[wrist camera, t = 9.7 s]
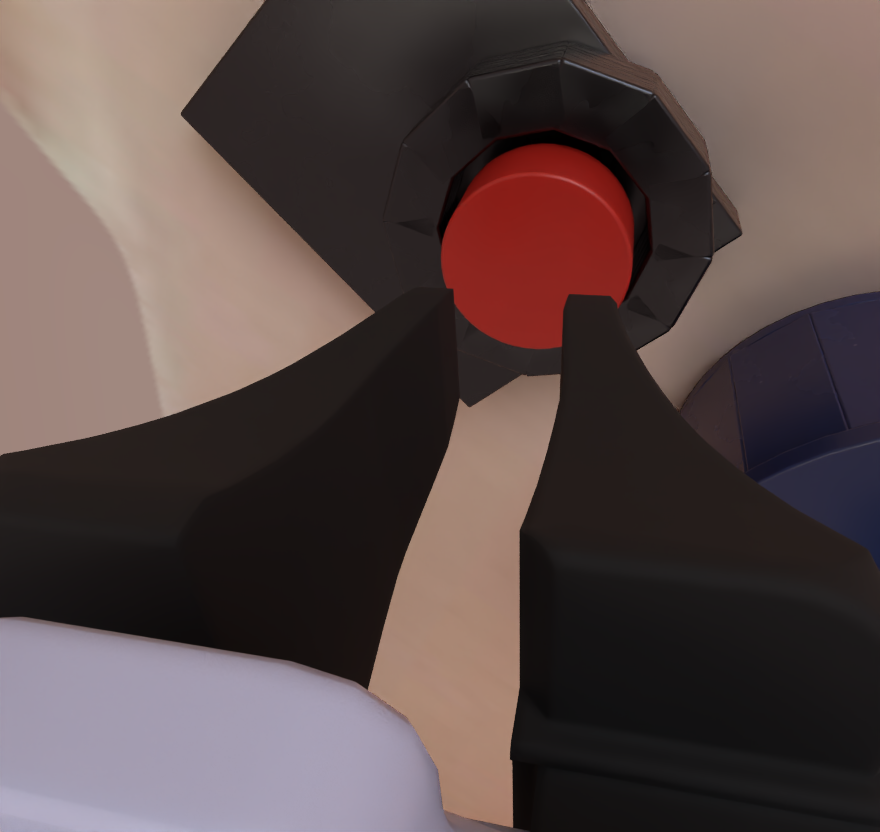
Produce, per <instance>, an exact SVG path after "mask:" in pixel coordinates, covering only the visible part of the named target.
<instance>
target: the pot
mask: <svg viewBox="0 0 880 832" xmlns="http://www.w3.org/2000/svg"><path fill="white" fill-rule="evenodd" d="M679 413H680V414H681V416H682V417H683V418H684V419H685V420H686V421H687V422H688V423H689V424H690V426H691V427H692V428H693V429H694V430H695V431H696V432H697V433H698V434H699V435H700V436H701V437H702V438H703V439H704V440H705V441H706V442H707V443H708V444H709V445H711V446H712V447H713V448H714V449H715V450H717V451H718V452H719V453H720V454H721V455H722V456H724V457H725V458H726V459H727V460H728V461H729V462H731V463H732V464H733V465H734V466H735V467H737V468H738V469H739V470H741V471H742V472H743V473H745V472H747V471H748V470H750V469H752V468H754V467H756V466H758V465H760V464H762V463H764V462H766V461H768V460H770V459H772V458H774V457H775V456H777V455H779V454H781V453H783V452H786V451H788V450H791V449H793V448H796V447H799V446H801V445H804V444H806V443H809V442H811V441H814V440H817V439H819V438H822V437H824V436H828V435H832V434H835V433H839V432H842V431H846V430H849V429H853V428H856V427H860V426H863V425H867V424H871V423H877V422H880V291H878V292H871V293H864V294H858V295H852V296H848V297H844V298H841V299H837V300H833V301H829V302H825V303H821V304H819V305H816V306H813V307H810V308H808V309H805V310H802V311H799V312H797V313H794V314H792V315H790V316H787V317H785V318H783V319H781V320H779V321H777V322H775V323H773V324H771V325H769V326H767V327H765V328H763V329H762V330H760V331H759V332H757V333H755V334H754V335H752V336H751V337H749V338H747V339H746V340H744V341H742V342H741V343H740V344H739V345H737V346H736V347H735V348H733V349H732V350H731V351H730V352H728V353H727V354H726V355H725V356H723V357H722V358H721V359H720V360H719V361H718V362H717V363H716V364H715V365H714V366H713V367H712V368H711V369H710V370H709V371H708V372H707V373H706V374H705V375H704V376H703V377H702V379H701V380H700V381H699V383H698V384H697V385H696V387H695V388H694V389H693V391H692V392H691V393H690V395H689V396H688V398H687V400H686V402H685V403H684V405H683V407H682V409H681V411H680V412H679Z"/></svg>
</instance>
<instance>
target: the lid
mask: <svg viewBox="0 0 880 832" xmlns="http://www.w3.org/2000/svg"><path fill="white" fill-rule="evenodd" d="M745 474H746V475H747V476H749V477H750V478H751V479H753V480H754V481H755V482H757V483H758V484H759V485H761V486H762V487H764V488H765V489H767V490H768V491H770V492H771V493H773V494H774V495H776V496H777V497H779V498H780V499H782V500H783V501H785V502H786V503H788V504H789V505H791V506H792V507H794V508H795V509H797V510H799V511H800V512H802V513H804V514H806V515H807V516H809V517H811V518H813V519H815V520H816V521H818V522H820V523H822V524H824V525H825V526H827V527H829V528H831V529H833V530H834V531H836V532H838V533H840V534H842V535H843V536H845V537H847V538H849V539H851V540H852V541H854V542H856V543H858V544H860V545H862V546H863V547H865V548H867V549H868V550H869V552H870V553H871V555H872V557H873V559H874V561H875V563H876V565H877V567H878V569H879V571H880V422H877V423H871V424H867V425H863V426H860V427H856V428H853V429H849V430H846V431H842V432H839V433H835V434H832V435H828V436H824V437H822V438H819V439H817V440H814V441H811V442H809V443H806V444H804V445H801V446H799V447H796V448H793V449H791V450H788V451H786V452H783V453H781V454H779V455H777V456H775V457H774V458H772V459H770V460H768V461H766V462H764V463H762V464H760V465H758V466H756V467H754V468H752V469H750V470H748V471H747V472H745Z"/></svg>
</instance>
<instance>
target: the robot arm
mask: <svg viewBox="0 0 880 832" xmlns="http://www.w3.org/2000/svg"><path fill="white" fill-rule="evenodd" d="M459 398H460V390H459V374H458V357H457V340H456V323H455V306H454V289H450V288H428V287H415V288H413V289H411V290H409V291H407V292H406V293H404V294H402V295H401V296H399V297H398V298H396V299H395V300H393V301H392V302H390V303H389V304H387V305H386V306H384V307H383V308H381V309H380V310H378V311H377V312H375V313H374V314H373V315H371V316H369V317H368V318H366V319H365V320H363V321H362V322H360V323H359V324H357V325H356V326H354V327H353V328H351V329H350V330H348V331H347V332H345V333H344V334H342V335H341V336H339V337H338V338H336V339H334V340H332V341H331V342H329V343H327V344H326V345H324V346H322V347H321V348H319V349H317V350H316V351H314V352H312V353H311V354H309V355H307V356H306V357H304V358H302V359H300V360H299V361H297V362H295V363H293V364H292V365H290V366H288V367H286V368H284V369H282V370H280V371H278V372H276V373H274V374H272V375H270V376H268V377H266V378H264V379H262V380H260V381H257V382H255V383H253V384H251V385H249V386H246V387H244V388H242V389H240V390H237V391H235V392H233V393H230V394H228V395H225V396H222V397H220V398H217V399H214V400H211V401H209V402H206V403H203V404H201V405H198V406H195V407H193V408H190V409H187V410H184V411H182V412H179V413H176V414H173V415H170V416H167V417H164V418H160V419H157V420H154V421H150V422H147V423H144V424H140V425H137V426H133V427H129V428H125V429H122V430H118V431H114V432H110V433H106V434H102V435H98V436H94V437H90V438H85V439H81V440H75V441H70V442H65V443H60V444H55V445H50V446H45V447H40V448H35V449H30V450H24V451H19V452H13V453H7V454H3V455H1V456H0V832H880V571H879V569H878V567H877V565H876V563H875V561H874V559H873V557H872V555H871V553H870V552H869V550H868V549H867V548H865V547H863V546H862V545H860V544H858V543H856V542H854V541H852V540H851V539H849V538H847V537H845V536H843V535H842V534H840V533H838V532H836V531H834V530H833V529H831V528H829V527H827V526H825V525H824V524H822V523H820V522H818V521H816V520H815V519H813V518H811V517H809V516H807V515H806V514H804V513H802V512H800V511H799V510H797V509H795V508H794V507H792V506H791V505H789V504H788V503H786V502H785V501H783V500H782V499H780V498H779V497H777V496H776V495H774V494H773V493H771V492H770V491H768V490H767V489H765V488H764V487H762V486H761V485H759V484H758V483H757V482H755V481H754V480H753V479H751V478H750V477H749V476H747V475H746V474H745V473H743V472H742V471H741V470H739V469H738V468H737V467H735V466H734V465H733V464H732V463H731V462H729V461H728V460H727V459H726V458H725V457H724V456H722V455H721V454H720V453H719V452H718V451H717V450H715V449H714V448H713V447H712V446H711V445H709V444H708V443H707V442H706V441H705V440H704V439H703V438H702V437H701V436H700V435H699V434H698V433H697V432H696V431H695V430H694V429H693V428H692V427H691V426H690V424H689V423H688V422H687V421H686V420H685V419H684V418H683V417H682V416H681V414H680V413H679V412H678V411H677V410H676V408H675V407H674V406H673V405H672V403H671V402H670V401H669V400H668V398H667V397H666V396H665V394H664V393H663V392H662V390H661V389H660V387H659V386H658V385H657V383H656V382H655V380H654V379H653V377H652V376H651V374H650V373H649V371H648V370H647V368H646V367H645V365H644V363H643V361H642V360H641V358H640V356H639V354H638V353H637V351H636V349H635V348H634V346H633V344H632V342H631V340H630V338H629V336H628V334H627V332H626V329H625V327H624V325H623V322H622V320H621V317H620V314H619V311H618V307H617V303H616V302H615V300H614V299H613V298H612V297H611V296H603V295H581V294H569V295H568V297H567V300H566V303H565V306H564V309H563V327H562V353H561V379H560V401H559V405H558V410H557V414H556V418H555V423H554V427H553V430H552V434H551V438H550V442H549V446H548V450H547V454H546V457H545V460H544V464H543V467H542V470H541V474H540V477H539V480H538V484H537V487H536V489H535V492H534V495H533V498H532V500H531V503H530V506H529V509H528V511H527V514H526V517H525V519H524V522H523V524H522V526H521V529H520V689H519V696H518V702H517V708H516V714H515V721H514V727H513V733H512V740H511V748H510V760H512V765H513V828H512V827H507V826H502V825H497V824H492V823H487V822H482V821H478V820H473V819H468V818H464V817H461V816H458V815H456V814H453V813H450V812H447V811H445V810H443V806H442V798H441V790H440V783H439V775H438V769H437V768H436V766H435V764H434V762H433V761H432V759H431V757H430V755H429V754H428V752H427V750H426V748H425V747H424V745H423V743H422V741H421V740H420V738H419V736H418V734H417V733H416V731H415V729H414V728H413V726H412V725H411V723H410V722H409V720H408V719H407V717H405V716H404V715H403V714H401V713H400V712H398V711H397V710H395V709H394V708H392V707H391V706H390V705H388V704H387V703H385V702H384V701H382V700H381V699H380V698H378V697H377V696H375V695H374V694H372V693H371V692H369V691H368V686H369V683H370V679H371V675H372V671H373V667H374V663H375V659H376V655H377V651H378V647H379V643H380V639H381V635H382V631H383V627H384V624H385V620H386V616H387V613H388V609H389V605H390V602H391V598H392V595H393V591H394V587H395V584H396V580H397V576H398V573H399V571H400V568H401V565H402V562H403V559H404V556H405V553H406V551H407V548H408V546H409V543H410V541H411V538H412V536H413V533H414V531H415V528H416V526H417V523H418V521H419V518H420V516H421V513H422V511H423V508H424V506H425V503H426V501H427V498H428V496H429V494H430V491H431V489H432V486H433V484H434V481H435V479H436V476H437V473H438V471H439V468H440V466H441V463H442V461H443V458H444V456H445V453H446V450H447V448H448V444H449V440H450V436H451V432H452V429H453V425H454V420H455V416H456V411H457V407H458V403H459Z"/></svg>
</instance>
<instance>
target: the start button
mask: <svg viewBox="0 0 880 832" xmlns="http://www.w3.org/2000/svg"><path fill="white" fill-rule="evenodd" d="M633 247H634V218H633V212H632V207H631V204H630V201H629V198H628V196H627V194H626V192H625V190H624V188H623V186H622V185H621V183H620V182H619V180H618V179H617V177H616V176H615V175H614V174H613V173H612V172H611V171H610V170H609V169H608V168H607V167H606V166H605V165H604V164H603V163H601V162H600V161H599V160H597V159H596V158H594V157H592V156H591V155H589V154H587V153H585V152H583V151H581V150H578V149H575V148H572V147H569V146H565V145H559V144H546V143H540V144H531V145H526V146H522V147H518V148H515V149H512V150H510V151H507V152H505V153H503V154H501V155H500V156H498V157H496V158H495V159H493V160H492V161H491V162H489V163H488V164H487V165H485V166H484V167H483V168H482V169H481V170H480V171H479V172H478V173H477V175H476V176H475V177H474V179H473V180H472V181H471V183H470V184H469V186H468V188H467V190H466V192H465V193H464V195H463V197H462V199H461V201H460V202H459V204H458V206H457V208H456V210H455V211H454V213H453V215H452V217H451V219H450V220H449V222H448V225H447V227H446V230H445V233H444V237H443V241H442V246H441V268H442V274H443V279H444V282H445V285H446V288H450V289H454V304H455V305H456V307H457V308H458V310H459V311H460V312H461V313H462V314H463V316H464V317H465V318H466V319H467V320H468V321H469V322H470V323H471V324H472V325H473V326H475V327H476V328H477V329H479V330H480V331H481V332H483V333H485V334H486V335H488V336H490V337H491V338H494V339H496V340H498V341H500V342H503V343H506V344H509V345H512V346H516V347H521V348H529V349H550V348H556V347H562V327H563V309H564V306H565V303H566V300H567V297H568V295H569V294H581V295H603V296H611V297H612V298H613V299H614V300H615V302H616V303H617V307H618V308H619V307H620V305H621V303H622V302H623V300H624V298H625V295H626V293H627V291H628V288H629V284H630V280H631V275H632V267H633Z"/></svg>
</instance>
